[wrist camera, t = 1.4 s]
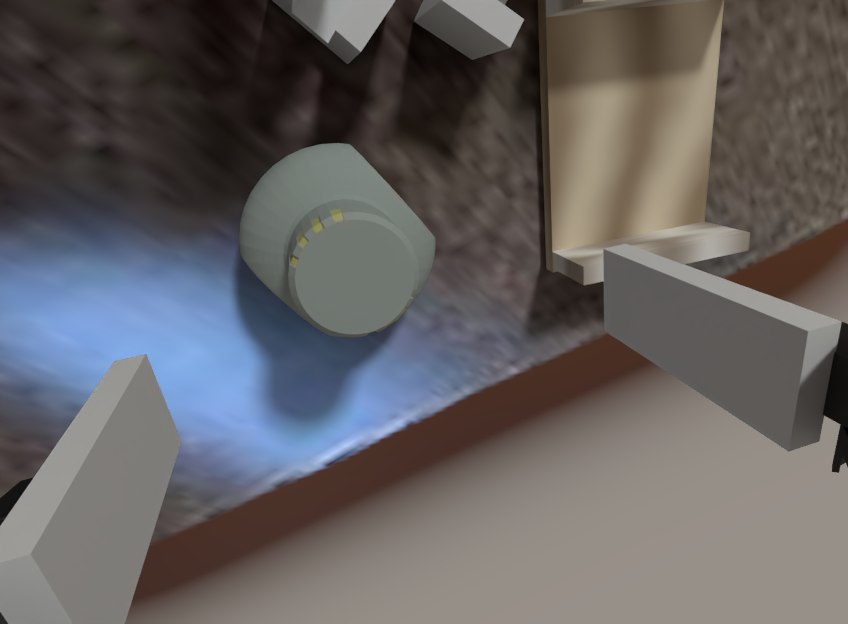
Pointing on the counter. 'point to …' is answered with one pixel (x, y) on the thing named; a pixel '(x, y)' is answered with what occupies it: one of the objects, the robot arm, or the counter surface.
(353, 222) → the air freshener
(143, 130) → the counter surface
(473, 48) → the clip
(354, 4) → the clip
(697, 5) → the end holder
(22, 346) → the counter surface
